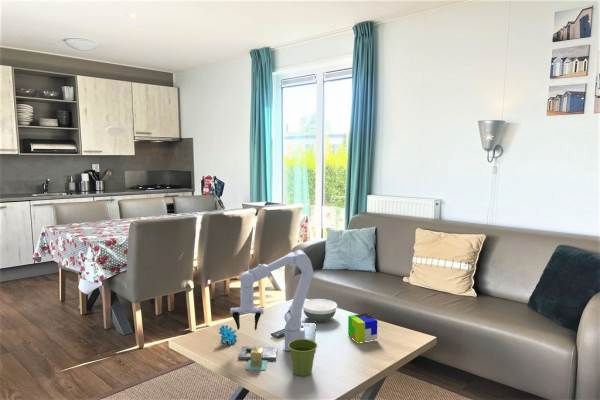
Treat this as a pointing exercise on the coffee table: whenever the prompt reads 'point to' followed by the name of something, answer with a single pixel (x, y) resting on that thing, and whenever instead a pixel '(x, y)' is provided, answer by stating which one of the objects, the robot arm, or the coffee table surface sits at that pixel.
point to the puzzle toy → (362, 327)
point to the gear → (228, 334)
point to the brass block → (256, 357)
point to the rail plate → (268, 353)
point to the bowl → (319, 309)
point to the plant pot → (302, 355)
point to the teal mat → (256, 367)
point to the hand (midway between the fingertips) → (247, 328)
